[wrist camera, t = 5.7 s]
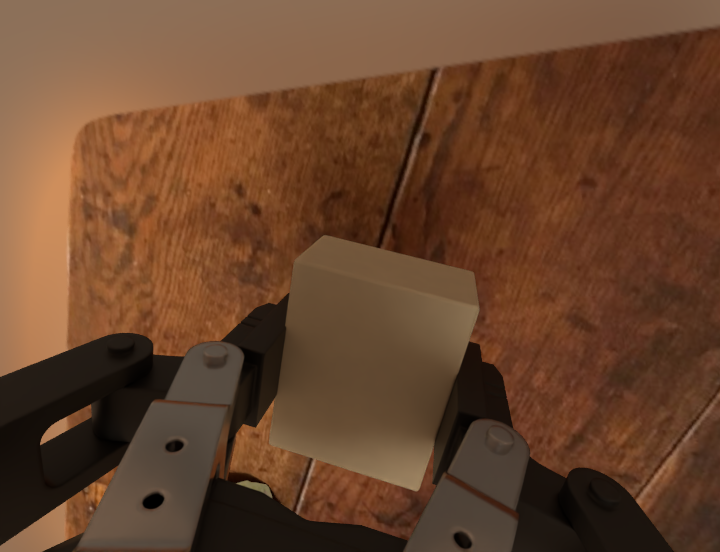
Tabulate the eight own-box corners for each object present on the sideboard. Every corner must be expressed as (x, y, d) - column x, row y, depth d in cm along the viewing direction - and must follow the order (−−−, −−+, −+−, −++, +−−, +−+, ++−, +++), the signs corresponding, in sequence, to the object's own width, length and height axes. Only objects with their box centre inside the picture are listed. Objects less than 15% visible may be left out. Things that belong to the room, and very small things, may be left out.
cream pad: (323, 233, 13) (293, 259, 10) (475, 271, 12) (481, 307, 10) (297, 393, 15) (267, 445, 12) (424, 431, 14) (418, 493, 12)
